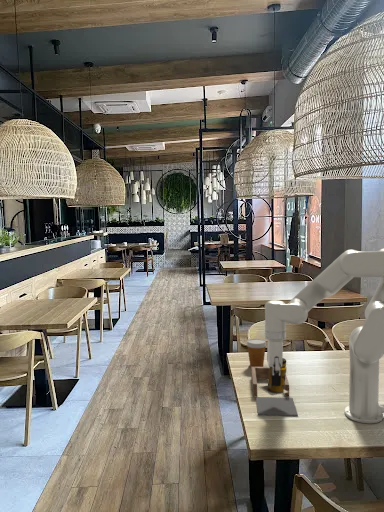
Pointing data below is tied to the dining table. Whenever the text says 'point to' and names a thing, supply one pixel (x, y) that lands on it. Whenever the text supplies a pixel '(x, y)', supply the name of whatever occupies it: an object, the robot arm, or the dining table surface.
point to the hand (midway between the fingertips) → (275, 381)
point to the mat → (276, 406)
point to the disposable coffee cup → (256, 352)
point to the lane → (264, 374)
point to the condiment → (276, 389)
